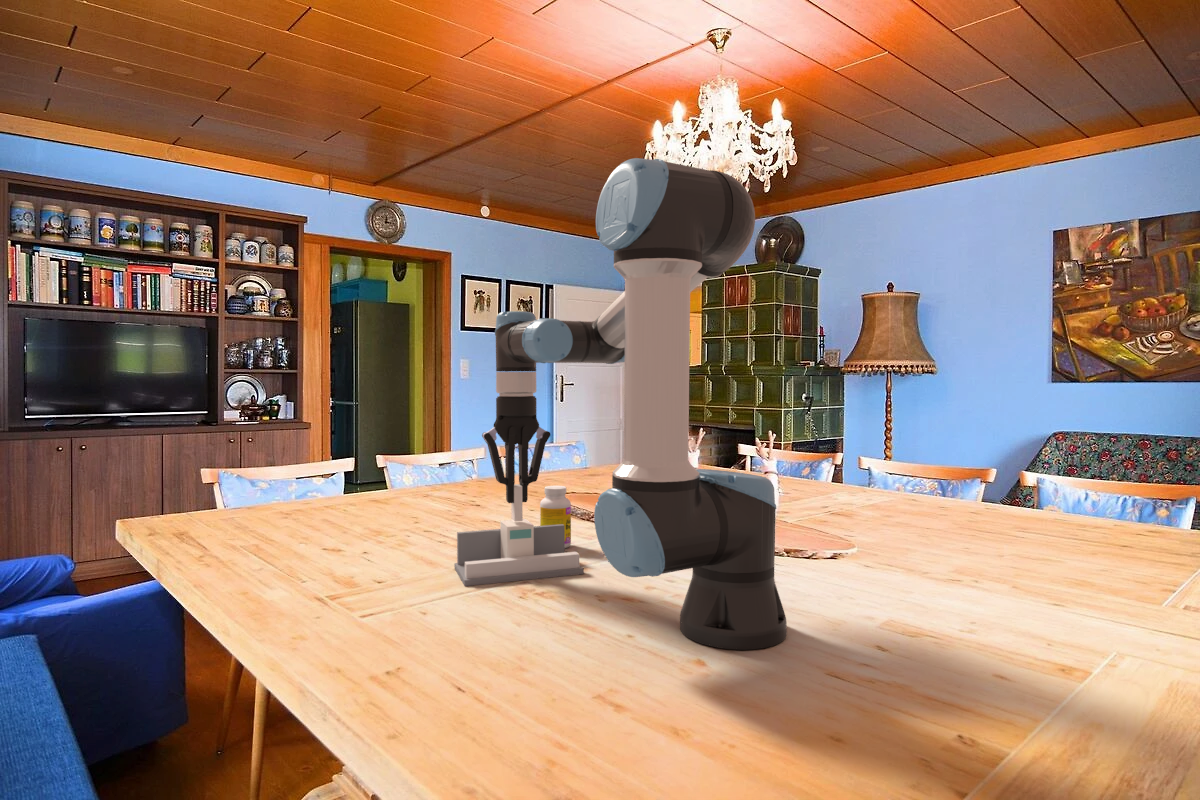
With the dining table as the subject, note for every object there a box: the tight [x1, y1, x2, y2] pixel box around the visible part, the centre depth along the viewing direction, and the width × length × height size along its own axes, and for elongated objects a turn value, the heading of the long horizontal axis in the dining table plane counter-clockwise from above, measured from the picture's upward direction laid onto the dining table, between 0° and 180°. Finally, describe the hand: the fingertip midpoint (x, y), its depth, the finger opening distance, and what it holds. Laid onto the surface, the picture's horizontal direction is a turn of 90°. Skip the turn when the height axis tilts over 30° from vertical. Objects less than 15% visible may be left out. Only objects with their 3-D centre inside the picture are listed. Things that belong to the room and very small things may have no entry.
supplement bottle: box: [539, 485, 572, 549], centre depth 153 cm, size 7×7×13 cm
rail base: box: [453, 524, 585, 587], centre depth 134 cm, size 12×22×7 cm, turn 110°
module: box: [499, 518, 535, 558], centre depth 135 cm, size 6×5×8 cm
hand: (517, 519), depth 135 cm, fingers closed
